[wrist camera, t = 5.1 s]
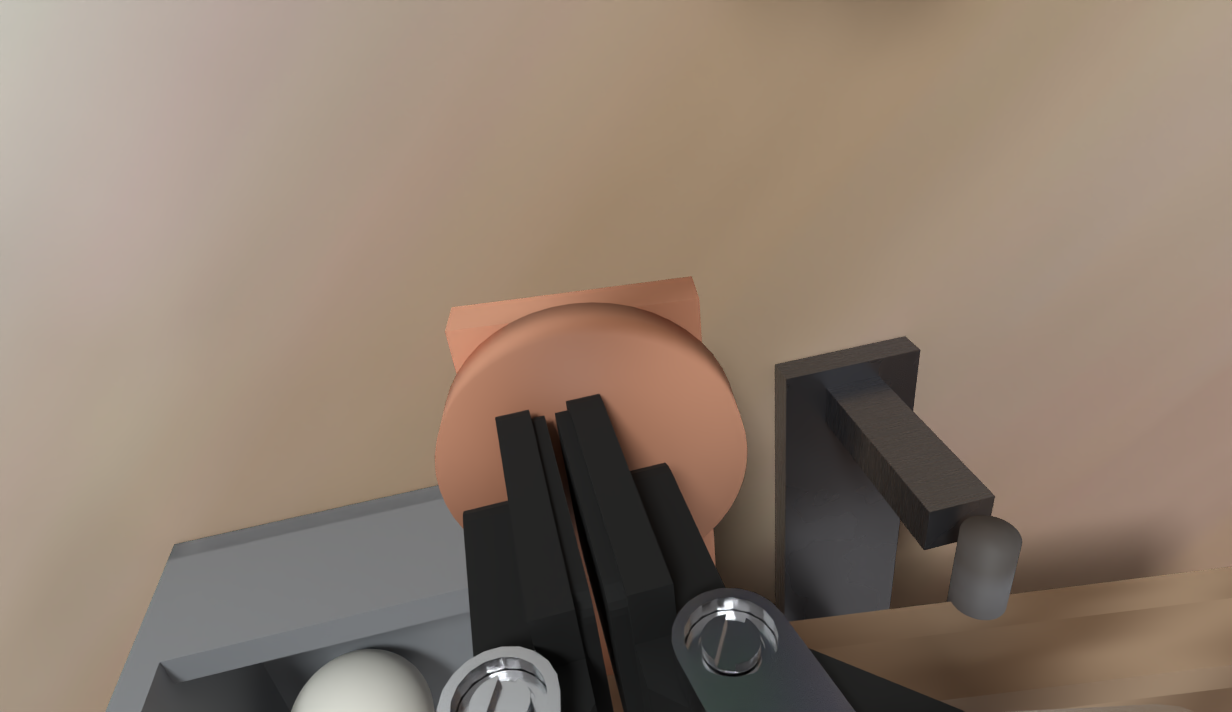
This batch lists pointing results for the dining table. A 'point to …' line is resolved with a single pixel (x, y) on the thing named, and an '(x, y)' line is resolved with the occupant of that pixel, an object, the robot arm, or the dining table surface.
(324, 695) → the ball
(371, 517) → the cup
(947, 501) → the pivot stand
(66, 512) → the dining table surface
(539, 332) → the brown flat piece
